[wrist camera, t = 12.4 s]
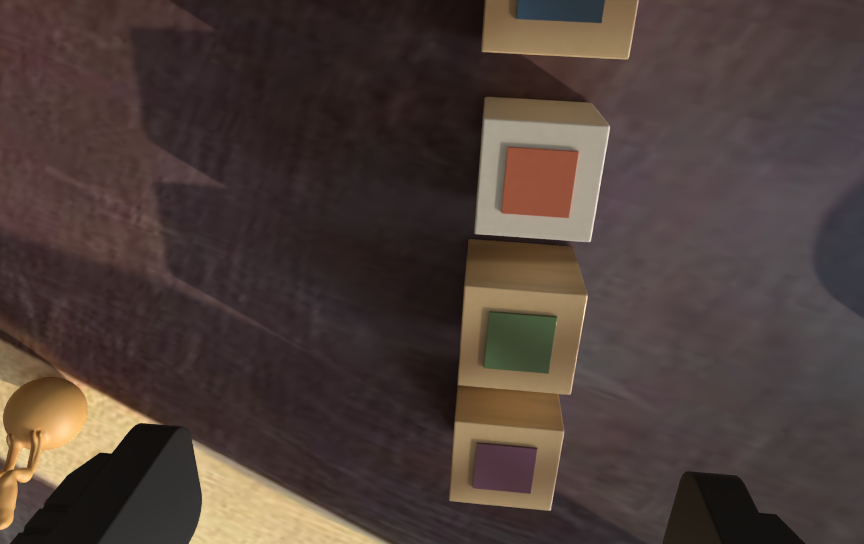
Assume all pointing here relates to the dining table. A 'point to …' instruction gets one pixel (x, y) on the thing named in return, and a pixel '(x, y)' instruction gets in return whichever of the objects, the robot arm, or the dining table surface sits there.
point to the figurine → (37, 430)
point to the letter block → (540, 168)
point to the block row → (524, 295)
